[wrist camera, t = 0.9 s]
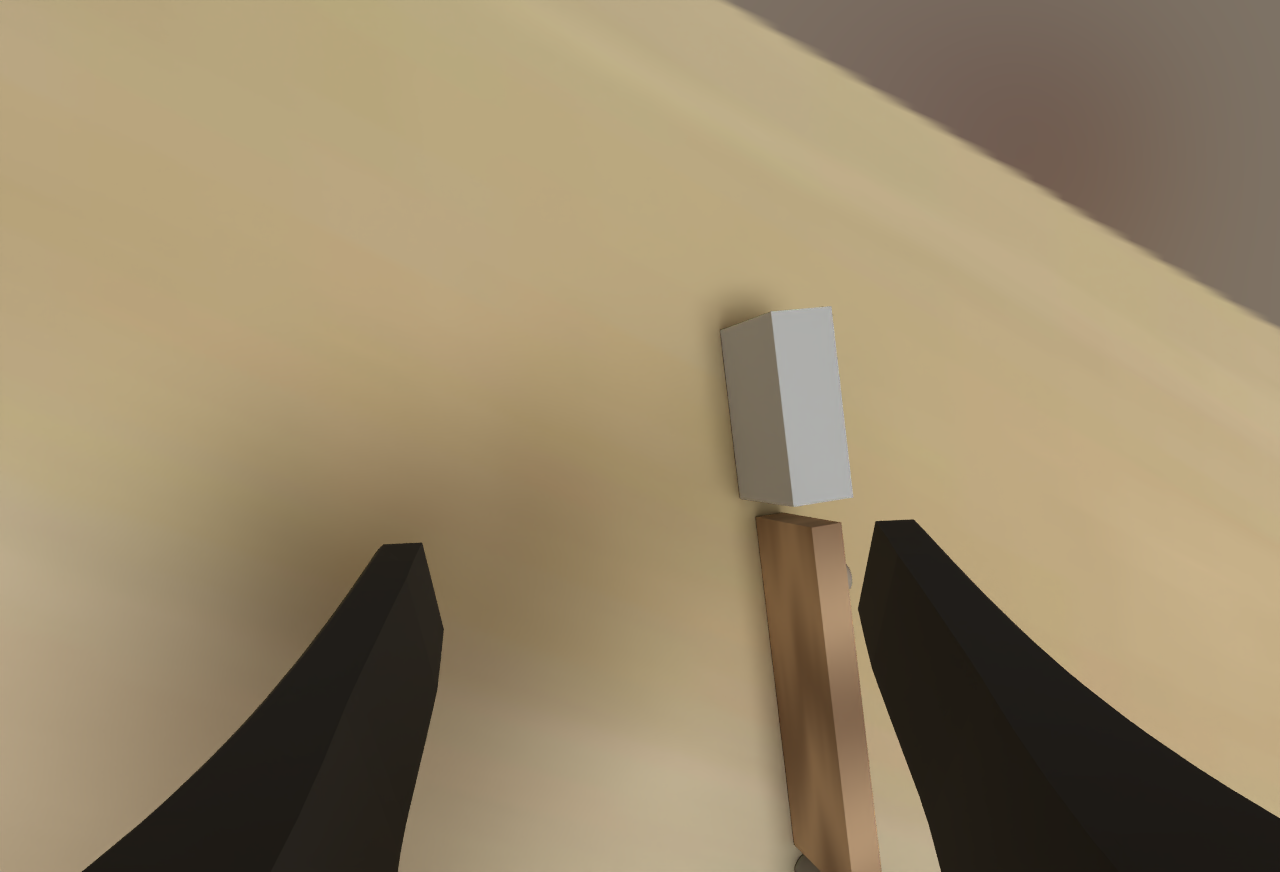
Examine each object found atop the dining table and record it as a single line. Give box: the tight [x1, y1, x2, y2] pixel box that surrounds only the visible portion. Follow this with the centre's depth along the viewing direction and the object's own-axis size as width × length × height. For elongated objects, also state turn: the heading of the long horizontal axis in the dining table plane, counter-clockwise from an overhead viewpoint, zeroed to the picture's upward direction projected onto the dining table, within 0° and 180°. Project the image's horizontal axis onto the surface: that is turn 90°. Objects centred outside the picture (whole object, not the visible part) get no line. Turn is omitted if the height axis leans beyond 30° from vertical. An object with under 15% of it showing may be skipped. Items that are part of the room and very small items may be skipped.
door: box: [756, 513, 882, 872], centre depth 27 cm, size 12×2×4 cm, turn 7°
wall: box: [720, 306, 853, 872], centre depth 26 cm, size 26×2×4 cm, turn 7°
